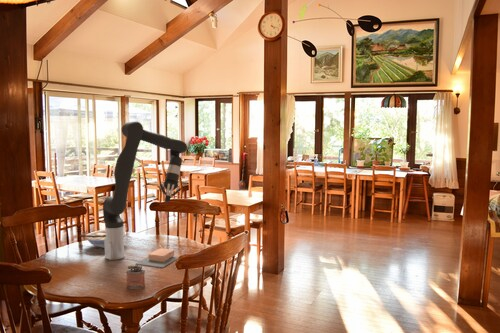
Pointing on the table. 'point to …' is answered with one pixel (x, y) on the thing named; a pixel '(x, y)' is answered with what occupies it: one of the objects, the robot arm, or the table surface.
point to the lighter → (135, 277)
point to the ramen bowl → (97, 238)
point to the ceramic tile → (161, 255)
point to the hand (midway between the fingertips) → (166, 202)
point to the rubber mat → (154, 263)
